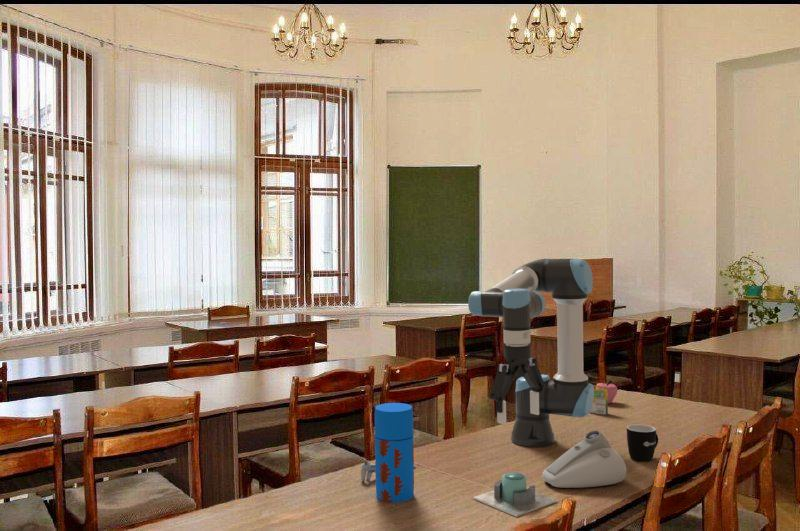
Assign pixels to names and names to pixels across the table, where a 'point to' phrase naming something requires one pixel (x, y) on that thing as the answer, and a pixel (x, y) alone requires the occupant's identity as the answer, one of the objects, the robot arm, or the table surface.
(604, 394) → the crayon box
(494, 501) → the cradle fixture plate
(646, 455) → the mug
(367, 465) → the caliper
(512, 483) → the cap
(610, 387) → the apple
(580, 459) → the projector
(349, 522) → the table surface
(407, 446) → the thermos
